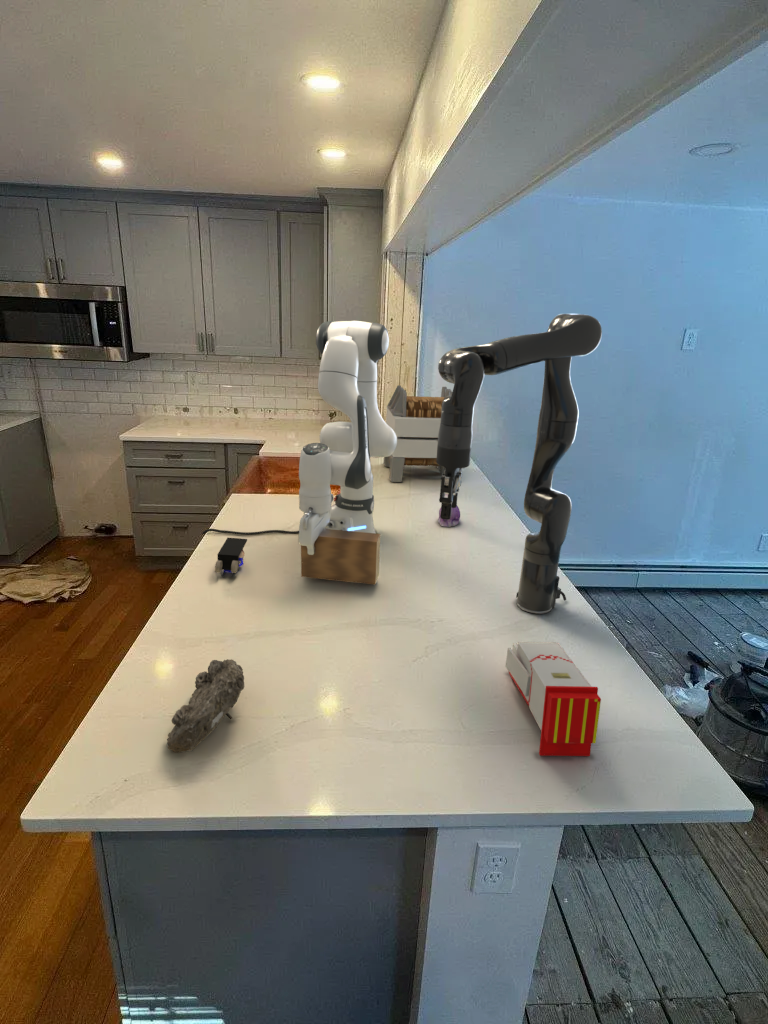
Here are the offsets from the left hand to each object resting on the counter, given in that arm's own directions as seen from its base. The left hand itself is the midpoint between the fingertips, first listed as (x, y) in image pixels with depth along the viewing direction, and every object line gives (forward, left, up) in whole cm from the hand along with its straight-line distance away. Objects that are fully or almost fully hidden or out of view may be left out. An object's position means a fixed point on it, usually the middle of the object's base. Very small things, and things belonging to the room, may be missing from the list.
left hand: (315, 548), depth 162 cm
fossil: (+4, -61, -9) cm, 62 cm away
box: (+7, +1, -8) cm, 11 cm away
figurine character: (-25, -4, -9) cm, 27 cm away
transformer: (+4, +122, -9) cm, 123 cm away
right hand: (+39, -15, +22) cm, 47 cm away
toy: (+65, -37, -9) cm, 76 cm away
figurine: (+29, +60, -9) cm, 67 cm away
